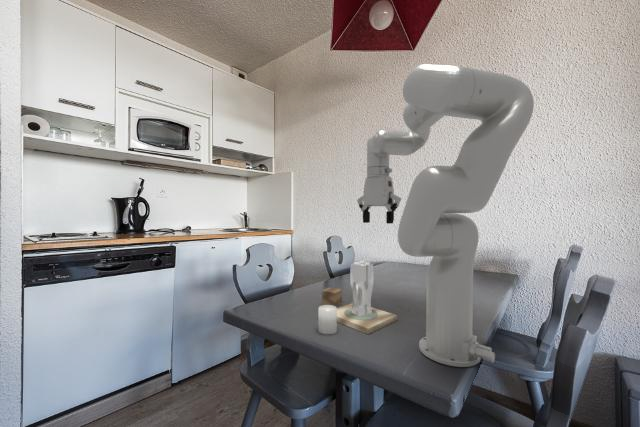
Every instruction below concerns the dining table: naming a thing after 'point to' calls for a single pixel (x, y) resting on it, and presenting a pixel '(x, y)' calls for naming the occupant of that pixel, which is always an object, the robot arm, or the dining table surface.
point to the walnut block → (332, 296)
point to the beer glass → (361, 287)
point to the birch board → (364, 319)
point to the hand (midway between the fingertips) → (377, 223)
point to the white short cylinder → (327, 319)
